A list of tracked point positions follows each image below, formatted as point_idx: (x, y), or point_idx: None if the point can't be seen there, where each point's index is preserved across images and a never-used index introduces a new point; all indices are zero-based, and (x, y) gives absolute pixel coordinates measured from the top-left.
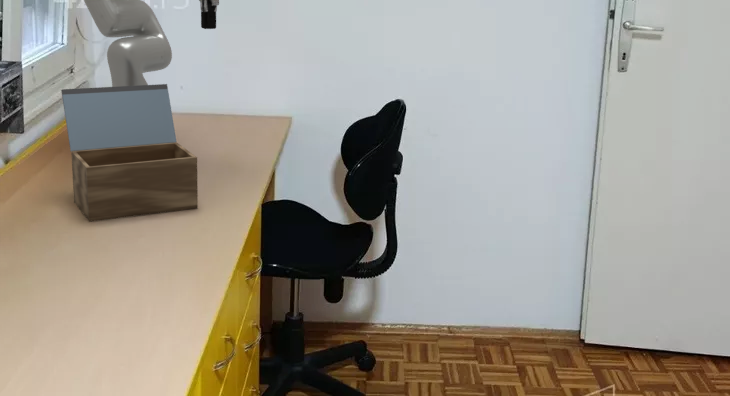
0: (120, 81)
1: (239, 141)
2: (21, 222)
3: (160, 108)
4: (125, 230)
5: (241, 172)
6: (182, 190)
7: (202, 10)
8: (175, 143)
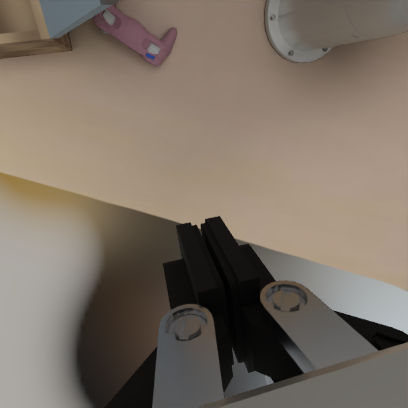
0: None
1: (328, 209)
2: None
3: None
4: None
5: (166, 181)
6: None
7: (262, 292)
8: (37, 32)
